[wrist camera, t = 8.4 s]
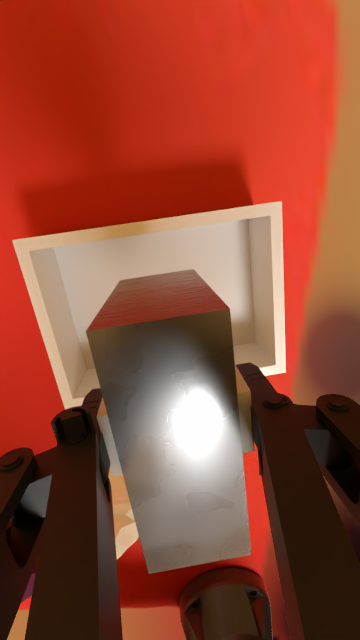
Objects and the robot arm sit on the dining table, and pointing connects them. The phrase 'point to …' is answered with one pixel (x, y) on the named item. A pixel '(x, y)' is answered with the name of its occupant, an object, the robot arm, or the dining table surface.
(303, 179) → the dining table surface
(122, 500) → the cream faceted chunk
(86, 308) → the cream rectangular tray
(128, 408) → the brushed metal block
